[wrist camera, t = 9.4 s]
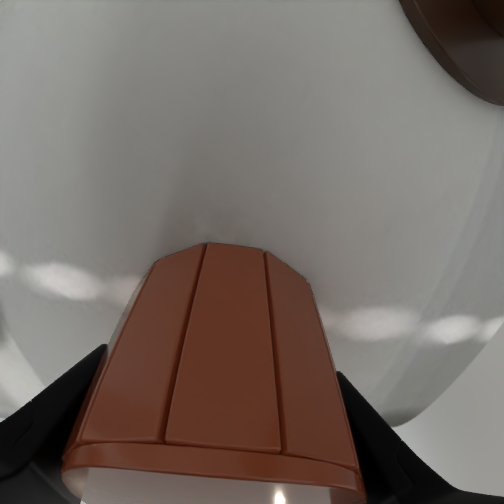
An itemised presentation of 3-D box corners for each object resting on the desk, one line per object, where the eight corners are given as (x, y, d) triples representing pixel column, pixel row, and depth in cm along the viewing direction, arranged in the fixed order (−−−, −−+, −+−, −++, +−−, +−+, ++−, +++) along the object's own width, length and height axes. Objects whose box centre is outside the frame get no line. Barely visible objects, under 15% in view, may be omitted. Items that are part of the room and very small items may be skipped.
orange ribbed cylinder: (341, 258, 10) (433, 458, 4) (293, 392, 13) (311, 539, 7) (128, 231, 9) (5, 418, 3) (140, 374, 12) (101, 520, 6)
